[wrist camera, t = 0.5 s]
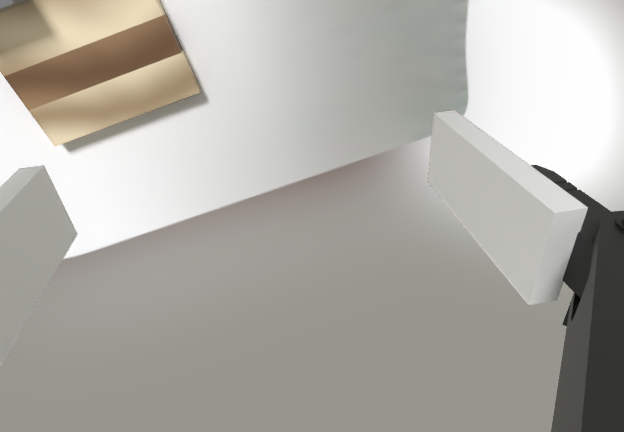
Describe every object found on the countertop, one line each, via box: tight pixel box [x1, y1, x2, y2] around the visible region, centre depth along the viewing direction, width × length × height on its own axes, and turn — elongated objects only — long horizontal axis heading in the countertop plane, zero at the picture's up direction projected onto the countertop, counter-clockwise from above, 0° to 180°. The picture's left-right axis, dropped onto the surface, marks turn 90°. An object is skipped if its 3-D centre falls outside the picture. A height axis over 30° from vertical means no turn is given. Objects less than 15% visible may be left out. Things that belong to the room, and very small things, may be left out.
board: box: [0, 0, 201, 146], centre depth 33 cm, size 17×14×1 cm
